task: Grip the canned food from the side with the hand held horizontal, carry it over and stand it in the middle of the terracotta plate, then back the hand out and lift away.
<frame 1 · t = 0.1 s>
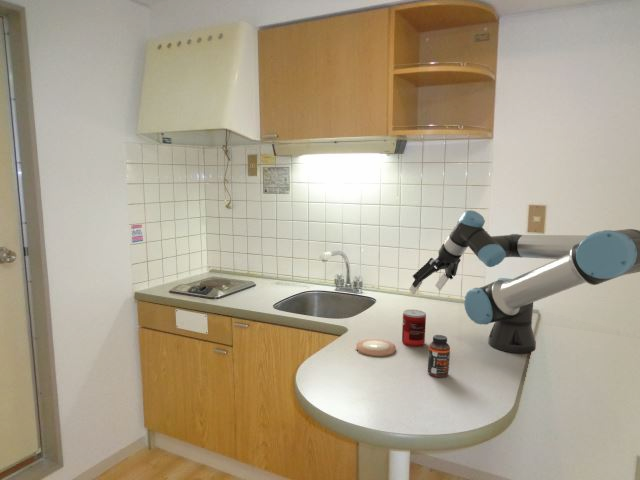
hand: (425, 289, 176), 15 cm above the worktop, tool tilted 35°, fingers open, 13 cm apart
canned food: (413, 343, 162), on the worktop
supplement bottle: (437, 374, 136), on the worktop
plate: (375, 349, 156), on the worktop
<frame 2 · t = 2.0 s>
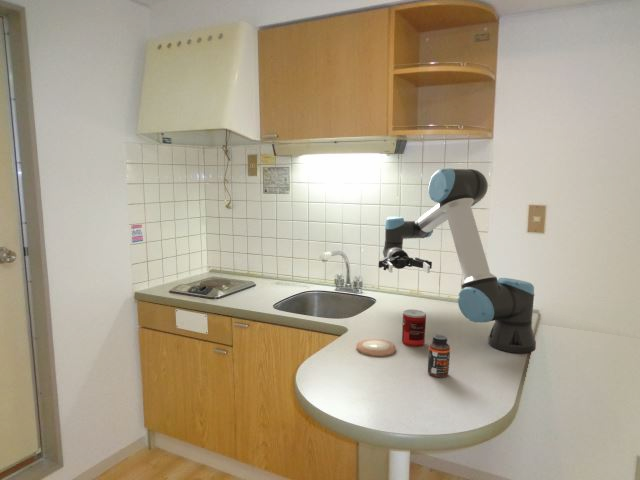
hand: (410, 269, 168), 24 cm above the worktop, tool horizontal, fingers open, 13 cm apart
nothing on the worktop moved.
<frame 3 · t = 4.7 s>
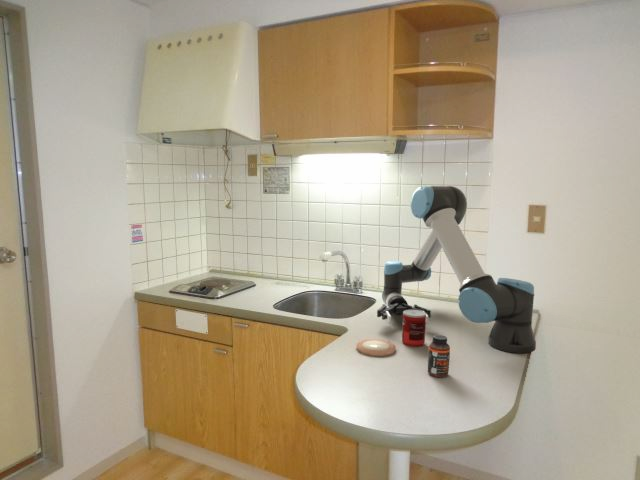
hand: (408, 319, 168), 6 cm above the worktop, tool horizontal, fingers open, 13 cm apart
nothing on the worktop moved.
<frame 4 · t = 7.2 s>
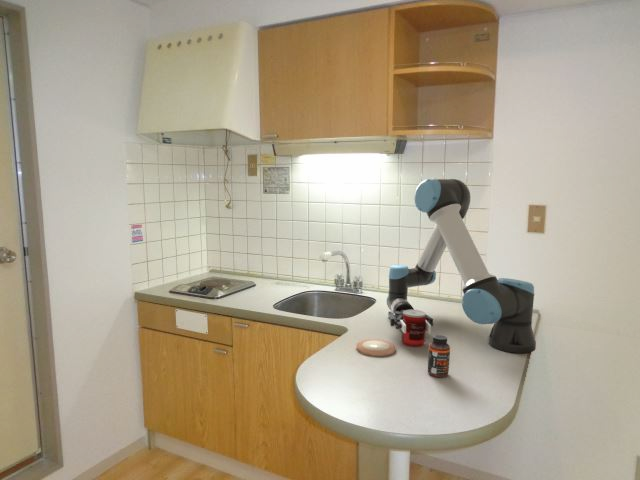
hand: (417, 329, 156), 7 cm above the worktop, tool horizontal, fingers closed on canned food, 8 cm apart
canned food: (413, 343, 162), on the worktop, touching gripper
everything else where it was.
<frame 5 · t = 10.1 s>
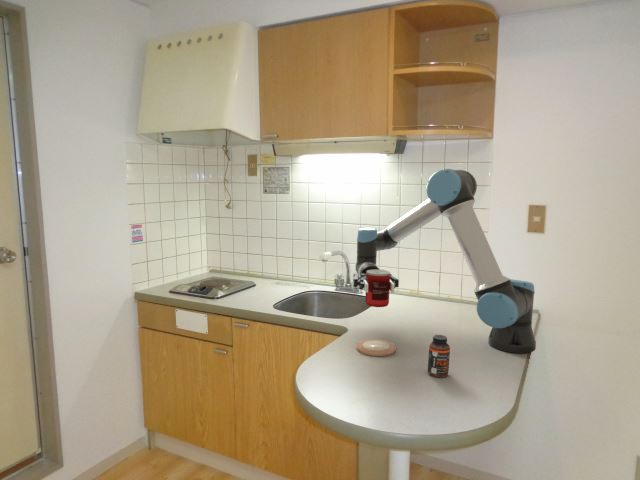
hand: (380, 288, 148), 22 cm above the worktop, tool horizontal, fingers closed on canned food, 8 cm apart
canned food: (377, 304, 154), point 15 cm above the worktop, touching gripper
everything else where it was.
when the fingers open (9 cm above the worktop, at t = 13.4 s): canned food drops 1 cm, resting on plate.
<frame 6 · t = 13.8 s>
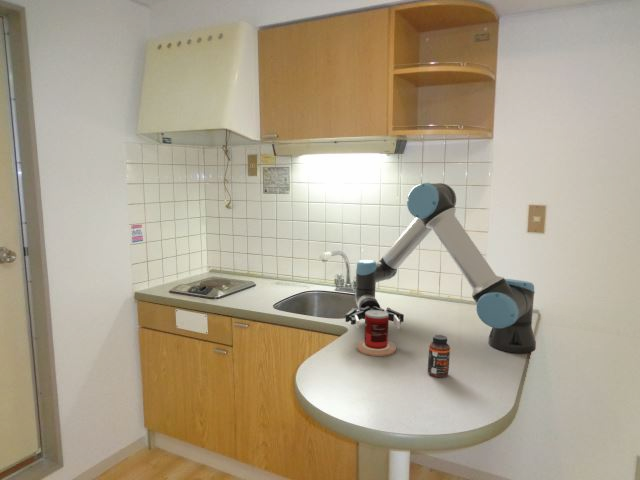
hand: (378, 325, 151), 9 cm above the worktop, tool horizontal, fingers open, 13 cm apart
canned food: (375, 345, 156), point 1 cm above the worktop, touching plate
everything else where it was.
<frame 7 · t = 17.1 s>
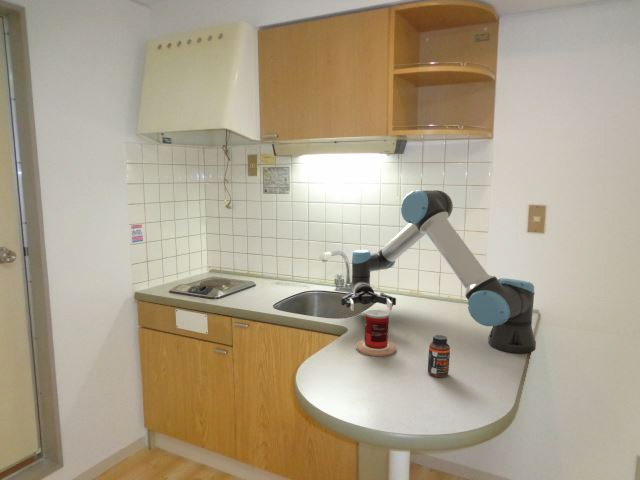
hand: (371, 307, 164), 12 cm above the worktop, tool horizontal, fingers open, 13 cm apart
nothing on the worktop moved.
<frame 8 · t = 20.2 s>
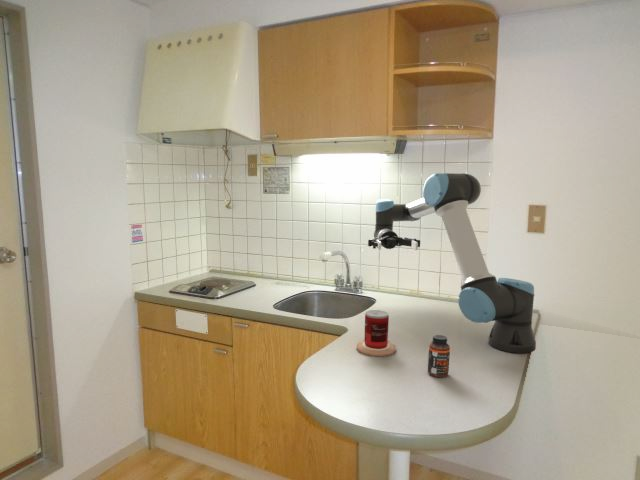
hand: (398, 246, 172), 32 cm above the worktop, tool horizontal, fingers open, 13 cm apart
nothing on the worktop moved.
at the end: canned food 0.1 cm from the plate (horizontally); canned food tilted 0°; canned food touching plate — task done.
